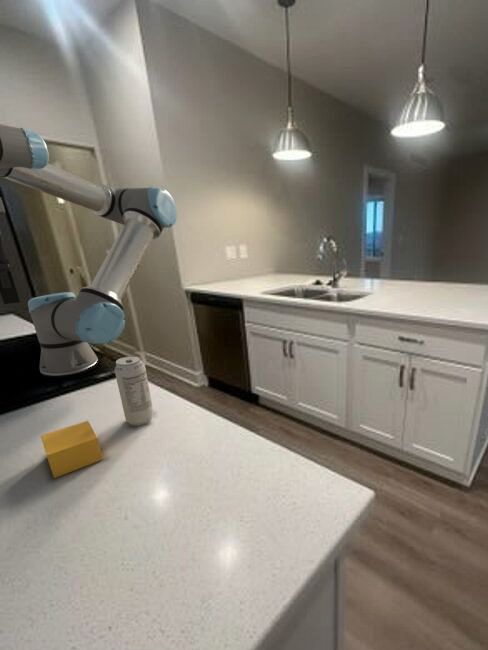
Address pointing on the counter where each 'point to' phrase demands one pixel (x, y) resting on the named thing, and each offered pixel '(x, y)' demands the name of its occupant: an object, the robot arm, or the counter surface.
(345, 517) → the counter surface
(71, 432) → the block
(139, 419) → the energy drink can
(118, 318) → the robot arm
